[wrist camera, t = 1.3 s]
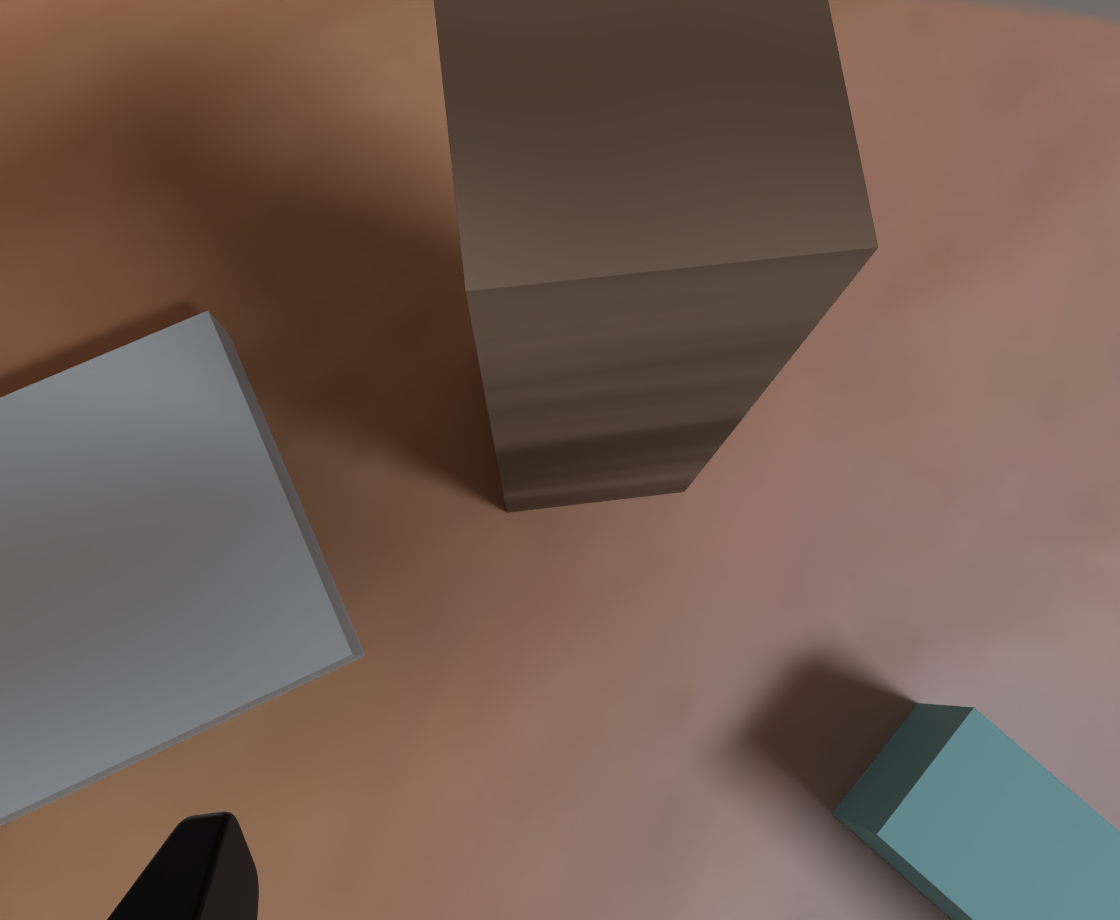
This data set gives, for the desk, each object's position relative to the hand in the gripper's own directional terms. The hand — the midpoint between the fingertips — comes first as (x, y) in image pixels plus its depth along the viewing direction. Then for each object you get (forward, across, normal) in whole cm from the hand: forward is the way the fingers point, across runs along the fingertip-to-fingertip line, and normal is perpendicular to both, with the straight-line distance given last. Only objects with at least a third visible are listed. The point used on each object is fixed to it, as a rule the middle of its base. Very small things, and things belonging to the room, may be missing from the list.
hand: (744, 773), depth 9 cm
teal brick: (+6, -7, +12) cm, 15 cm away
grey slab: (+12, +10, +6) cm, 17 cm away
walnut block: (+14, 0, +4) cm, 14 cm away
